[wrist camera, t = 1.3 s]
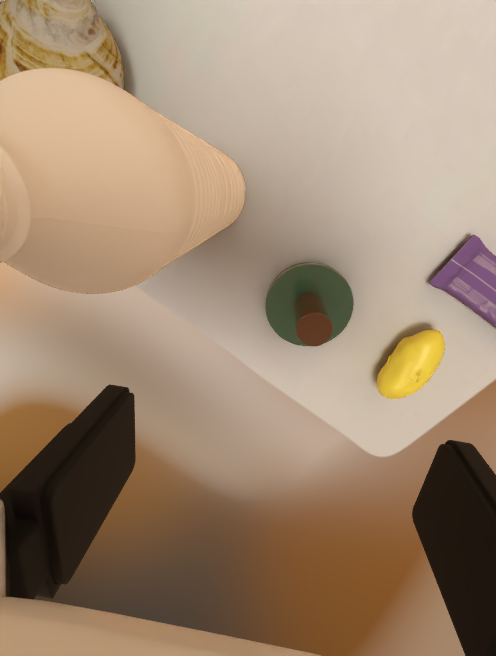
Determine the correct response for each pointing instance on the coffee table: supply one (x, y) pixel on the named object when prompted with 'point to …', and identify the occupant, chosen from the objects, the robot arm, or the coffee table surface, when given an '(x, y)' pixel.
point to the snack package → (471, 278)
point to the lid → (309, 304)
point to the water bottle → (102, 183)
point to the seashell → (57, 39)
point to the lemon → (411, 364)
